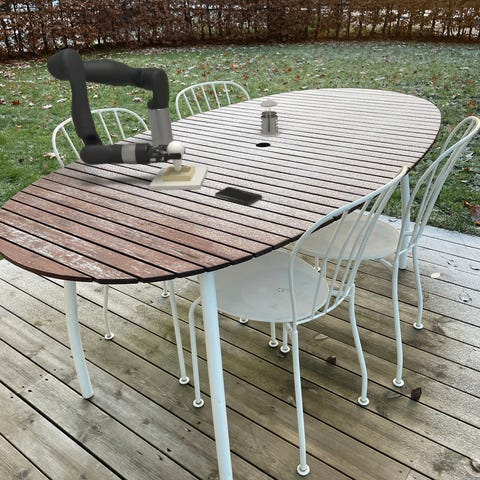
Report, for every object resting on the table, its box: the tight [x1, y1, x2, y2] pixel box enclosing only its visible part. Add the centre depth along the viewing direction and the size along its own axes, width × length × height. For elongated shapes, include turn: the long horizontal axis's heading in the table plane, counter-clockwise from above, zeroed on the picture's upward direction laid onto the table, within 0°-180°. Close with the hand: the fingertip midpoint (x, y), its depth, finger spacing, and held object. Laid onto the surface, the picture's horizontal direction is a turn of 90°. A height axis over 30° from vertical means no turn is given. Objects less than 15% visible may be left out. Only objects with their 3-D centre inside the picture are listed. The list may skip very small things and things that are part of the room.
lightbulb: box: [167, 140, 186, 171], centre depth 168 cm, size 6×6×11 cm
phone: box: [214, 186, 263, 206], centre depth 156 cm, size 8×1×15 cm
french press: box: [258, 77, 281, 138], centre depth 212 cm, size 10×12×25 cm
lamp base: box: [148, 165, 209, 191], centre depth 172 cm, size 18×18×4 cm
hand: (183, 153), depth 167 cm, fingers closed on lightbulb, 6 cm apart
